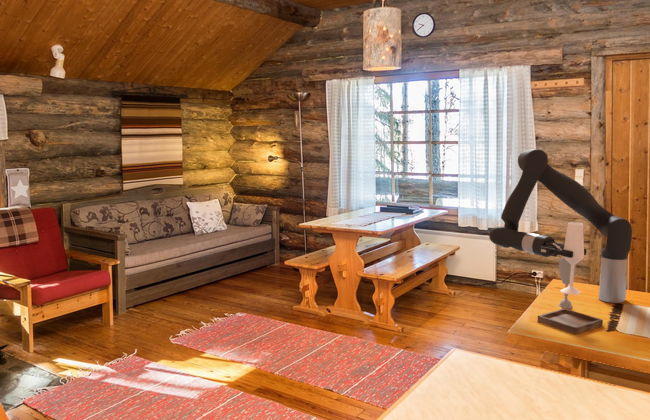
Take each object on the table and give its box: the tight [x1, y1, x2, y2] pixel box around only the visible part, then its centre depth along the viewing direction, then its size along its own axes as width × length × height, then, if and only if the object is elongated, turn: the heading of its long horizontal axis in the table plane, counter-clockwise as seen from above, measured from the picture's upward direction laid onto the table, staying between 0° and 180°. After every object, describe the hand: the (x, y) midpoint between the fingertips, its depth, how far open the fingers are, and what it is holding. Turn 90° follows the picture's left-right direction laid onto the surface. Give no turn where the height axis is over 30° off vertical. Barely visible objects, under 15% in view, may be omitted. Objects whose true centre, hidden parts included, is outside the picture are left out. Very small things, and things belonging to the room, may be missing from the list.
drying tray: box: [537, 308, 604, 335], centre depth 200 cm, size 15×15×2 cm
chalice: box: [557, 257, 577, 309], centre depth 218 cm, size 7×7×18 cm
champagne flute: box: [560, 221, 585, 296], centre depth 196 cm, size 7×7×24 cm
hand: (579, 253), depth 194 cm, fingers closed on champagne flute, 6 cm apart
